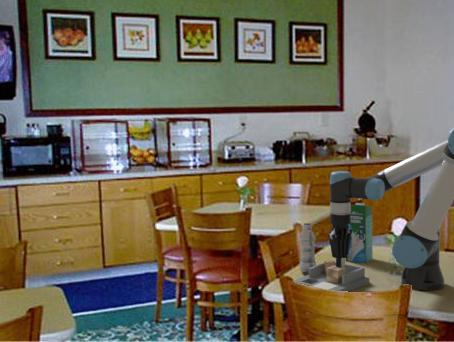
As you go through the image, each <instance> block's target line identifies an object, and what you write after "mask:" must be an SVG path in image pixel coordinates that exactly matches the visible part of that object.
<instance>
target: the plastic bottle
mask: <svg viewBox="0 0 454 342" xmlns="http://www.w3.org/2000/svg"><path fill="white" fill-rule="evenodd" d="M301 228H302V231H301V232H300V234H299V237H298V239H299V245H300V261H299V270H300V272H301V273H303V274H309V269H308V268H311V267H314V266H317V262H316V257H315V249H316V248H315V245H316V234H315V233H314V232H313V230H312V229H313V224H312V223H308V222H307V223H306V222H305V223H302V227H301Z"/></svg>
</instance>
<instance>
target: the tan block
mask: <svg viewBox="0 0 454 342" xmlns="http://www.w3.org/2000/svg"><path fill="white" fill-rule="evenodd" d="M335 262H336V260H324V263H325V275H327V272H326V268H328V267H331V266H334V265H335Z"/></svg>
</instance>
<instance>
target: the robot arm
mask: <svg viewBox="0 0 454 342" xmlns="http://www.w3.org/2000/svg"><path fill="white" fill-rule="evenodd" d="M438 168H439V169H438ZM436 169H438V171H437V173H436V175H435V176H434V178H433V180H432V183H431V184H430V186H429V188H428V190H427V192H426V194H425V196H424V198H423V200H422V202H421V204H420V206H419V207H418V210H417V211H416V213H415V216H414V217H413V220H410V221H407V222H406V223H405V225H404V226H403V229H402V231H401V233H400V235H399V236H398V237H397V238H396V239H395V240H394V241H393V245H392V246H391V247H392V248H391V251H392V255H393V258H394V260H395V261H396V263H398V264H399V265H400V266H401V267H404V268H403V272H402V274H401V277H400V280H401V281H400V283H401V285H402V284H409V285H412V290H419V291H435V290H440V289H442V288H444V287H445V278H444V275H443V272H442V269H441V267H440V266H441V265H440V249H441V248H440V246H441V245H440V241H441V240H440V235H441V231H440V227H441V225H442V223H443V221H444V219H445V217H446V216H447V214H448V212H449V210H450V209H451V206H452V204H453V202H454V127H453V128H451V130H450V132H449V133H448V136H447V139H444V140H442V141H440V142H439V143H437V144H434V145H433V146H431V147H429V148H427V149H424V150H422V151H420V152H418V153H416V154H415V155H412V156H410V157H408V158H406V159H404V160H402V161H400V162H398V163H396V164H394V165H392V166H390V167H388V168H385V169H383V170H381V171H379V172H377V173H375V174H373V175H370V176H367V177H352V174H351V172H350V171H346V170H345V171H344V170H337V171H336V170H335V171H332V172H331V173H330V176H329V199H330V200H329V202H330V203H329V211H330V214H329V223H330V224H331V225H332V228H331V231H330V232H331V233H328V234H327V237H328V240H329V245H330V253H331V257H332V258H333V259H334V258H335V262H336V267H345V264H346V258H347V257H348V256H346V255H348V254H349V247H350V240H351V234H352V231H353V230H352V229H349V226H348V224H350V223H351V214H350V212H351V205H352V204H351V201H352V200H351V199H360V200H370V201H373V200H374V201H375V200H376V201H377V200H382V199H383V197H384V196H385V193H387V192H388V191H390V190H392V189H394V188H396V187H398V186H401V185H403V184H405V183H407V182H410V181H411V180H414V179H416V178H418V177H420V176H422V175H425V174H427V173H429V172H430V171H433V170H436Z"/></svg>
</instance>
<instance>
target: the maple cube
mask: <svg viewBox="0 0 454 342" xmlns="http://www.w3.org/2000/svg"><path fill="white" fill-rule="evenodd" d="M326 272H327V282H332V283H336V284H339V283H341V282H342V275H344V274H346V268H345V267H336V266H335V265H334V266H331V267H328V268H326Z"/></svg>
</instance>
